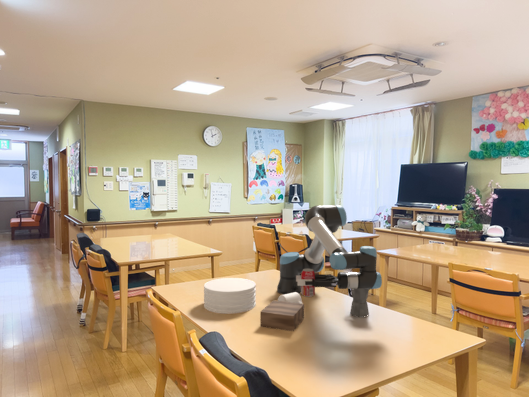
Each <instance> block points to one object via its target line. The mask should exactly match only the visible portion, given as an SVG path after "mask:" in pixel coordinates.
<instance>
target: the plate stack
mask: <svg viewBox="0 0 529 397" xmlns="http://www.w3.org/2000/svg"><path fill="white" fill-rule="evenodd" d="M203 284H204V285H203V303H204V304H203V308H204V309H206V310H207V311H208V312H211V313H216V314H224V315H225V314H226V315H227V314H231V315H232V314H240V313H244V312H248V311H250V310H253V309H254V308H255V307H256V306H257V305H256V300H257V299H256V298H257V297H256V295H257V294H256V292H257V289H256V287H257V284H256V282H255V281H253V280H252V279H247V278H241V277H221V278H215V279H211V280H209V281H207V282H205V283H203Z"/></svg>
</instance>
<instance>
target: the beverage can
mask: <svg viewBox="0 0 529 397" xmlns="http://www.w3.org/2000/svg"><path fill="white" fill-rule="evenodd" d="M315 274H316V273H315V272H314V270H313V269H303V271H302V273H301V275H300V276H301V279H314V280H315ZM315 290H316V287H314V286H301V293H300V295H303V296H304V297H306V298H308V297H309V298H310V297H314V296H315V295H316V291H315Z"/></svg>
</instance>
